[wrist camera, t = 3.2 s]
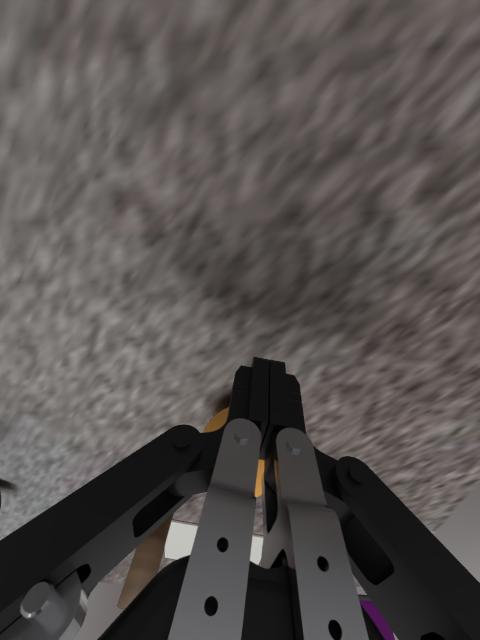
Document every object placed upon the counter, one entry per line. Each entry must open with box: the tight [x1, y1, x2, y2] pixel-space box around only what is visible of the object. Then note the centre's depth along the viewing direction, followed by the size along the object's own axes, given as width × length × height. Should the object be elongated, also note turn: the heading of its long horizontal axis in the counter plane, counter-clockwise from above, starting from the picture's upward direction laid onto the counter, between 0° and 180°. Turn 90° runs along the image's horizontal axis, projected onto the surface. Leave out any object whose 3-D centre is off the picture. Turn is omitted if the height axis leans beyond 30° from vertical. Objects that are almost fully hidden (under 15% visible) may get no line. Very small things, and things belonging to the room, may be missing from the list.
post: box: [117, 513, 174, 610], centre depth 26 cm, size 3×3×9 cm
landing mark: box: [165, 520, 263, 565], centre depth 37 cm, size 14×14×1 cm
